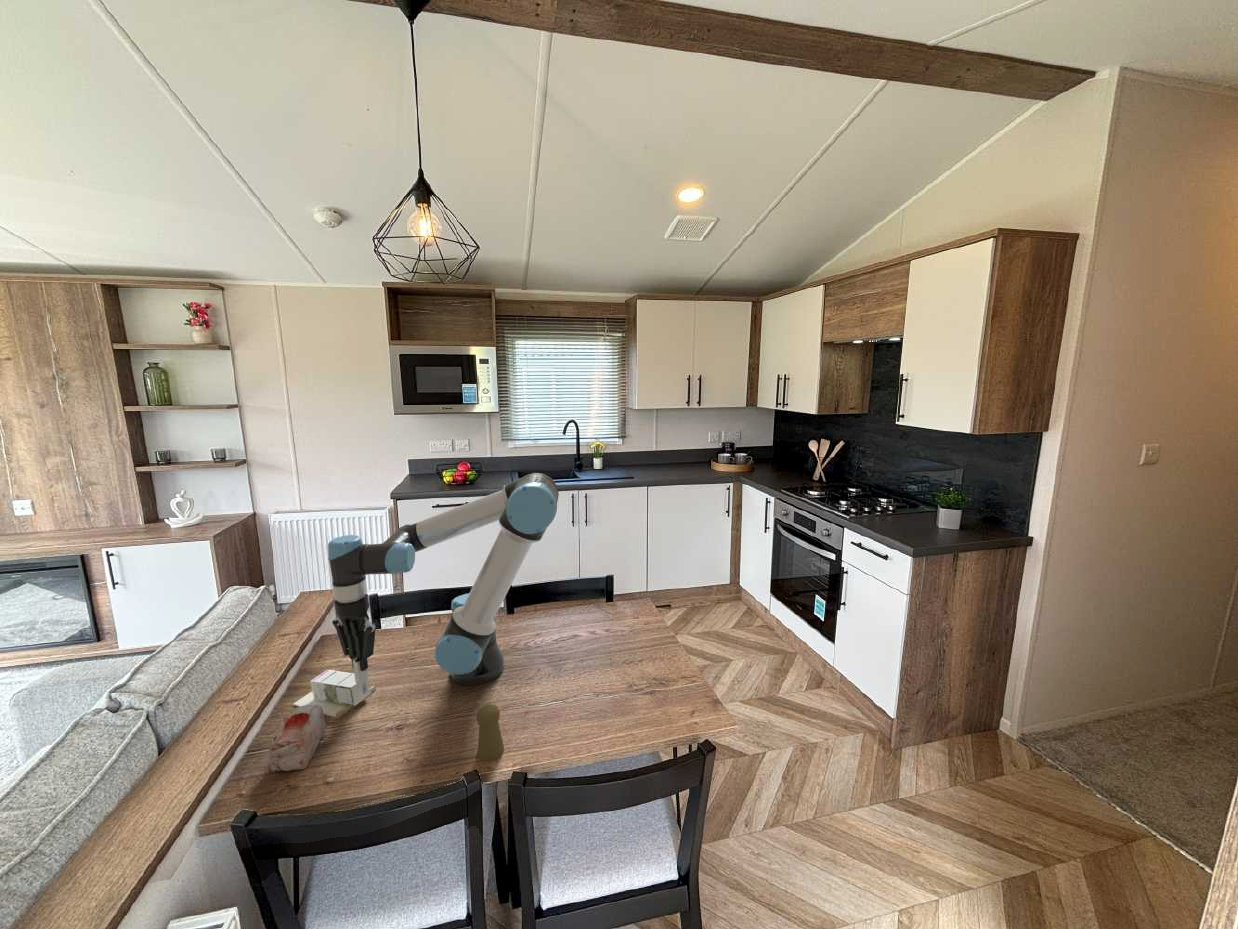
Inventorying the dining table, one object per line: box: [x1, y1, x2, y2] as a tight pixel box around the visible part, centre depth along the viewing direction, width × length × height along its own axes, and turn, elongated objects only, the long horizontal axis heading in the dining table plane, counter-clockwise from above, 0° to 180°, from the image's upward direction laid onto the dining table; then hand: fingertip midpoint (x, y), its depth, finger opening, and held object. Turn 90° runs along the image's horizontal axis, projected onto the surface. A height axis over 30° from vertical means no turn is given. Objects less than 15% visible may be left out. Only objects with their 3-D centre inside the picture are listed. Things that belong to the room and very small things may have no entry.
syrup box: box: [310, 669, 372, 707], centre depth 132 cm, size 6×6×14 cm
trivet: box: [292, 685, 377, 719], centre depth 134 cm, size 16×12×1 cm
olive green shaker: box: [476, 703, 505, 762], centre depth 113 cm, size 6×6×11 cm
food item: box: [267, 705, 327, 773], centre depth 114 cm, size 14×8×10 cm, turn 14°
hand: (361, 680), depth 129 cm, fingers closed
